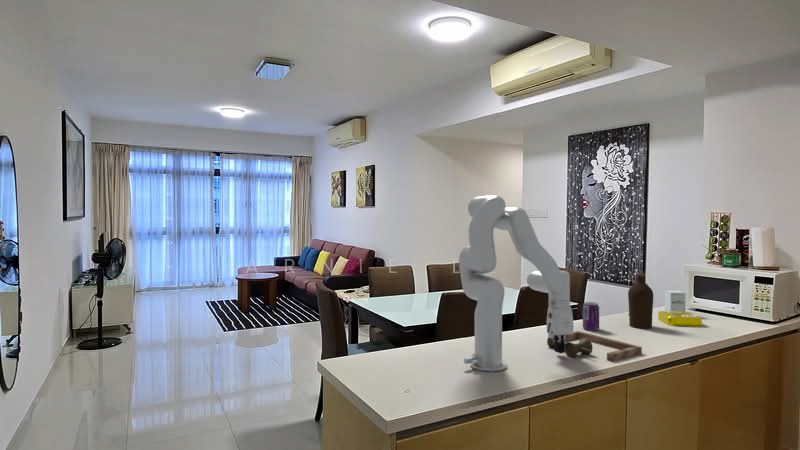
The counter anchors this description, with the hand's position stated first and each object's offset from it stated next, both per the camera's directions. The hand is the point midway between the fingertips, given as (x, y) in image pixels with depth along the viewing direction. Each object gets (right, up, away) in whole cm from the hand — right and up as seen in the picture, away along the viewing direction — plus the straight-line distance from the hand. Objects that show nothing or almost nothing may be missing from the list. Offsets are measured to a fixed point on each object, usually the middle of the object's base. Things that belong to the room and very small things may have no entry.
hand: (559, 352), depth 172 cm
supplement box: (+84, 0, +67) cm, 108 cm away
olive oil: (+54, 0, +44) cm, 69 cm away
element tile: (+76, 0, +51) cm, 92 cm away
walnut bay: (+17, -1, +10) cm, 20 cm away
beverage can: (+28, -1, +40) cm, 49 cm away
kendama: (+6, -2, +4) cm, 7 cm away
